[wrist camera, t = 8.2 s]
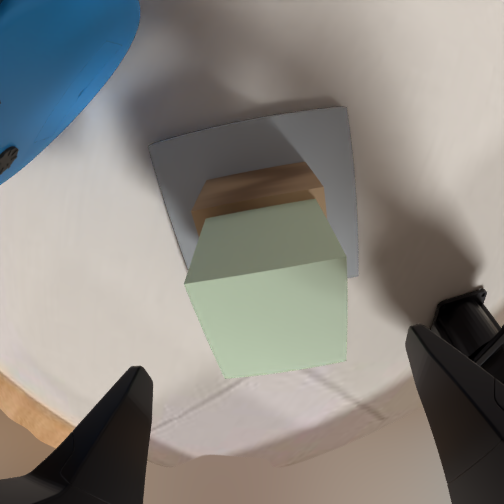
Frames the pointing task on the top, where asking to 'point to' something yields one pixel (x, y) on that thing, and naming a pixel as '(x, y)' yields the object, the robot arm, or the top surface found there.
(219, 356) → the sage cube
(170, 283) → the top surface
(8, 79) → the alarm clock
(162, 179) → the mat
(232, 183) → the walnut block
